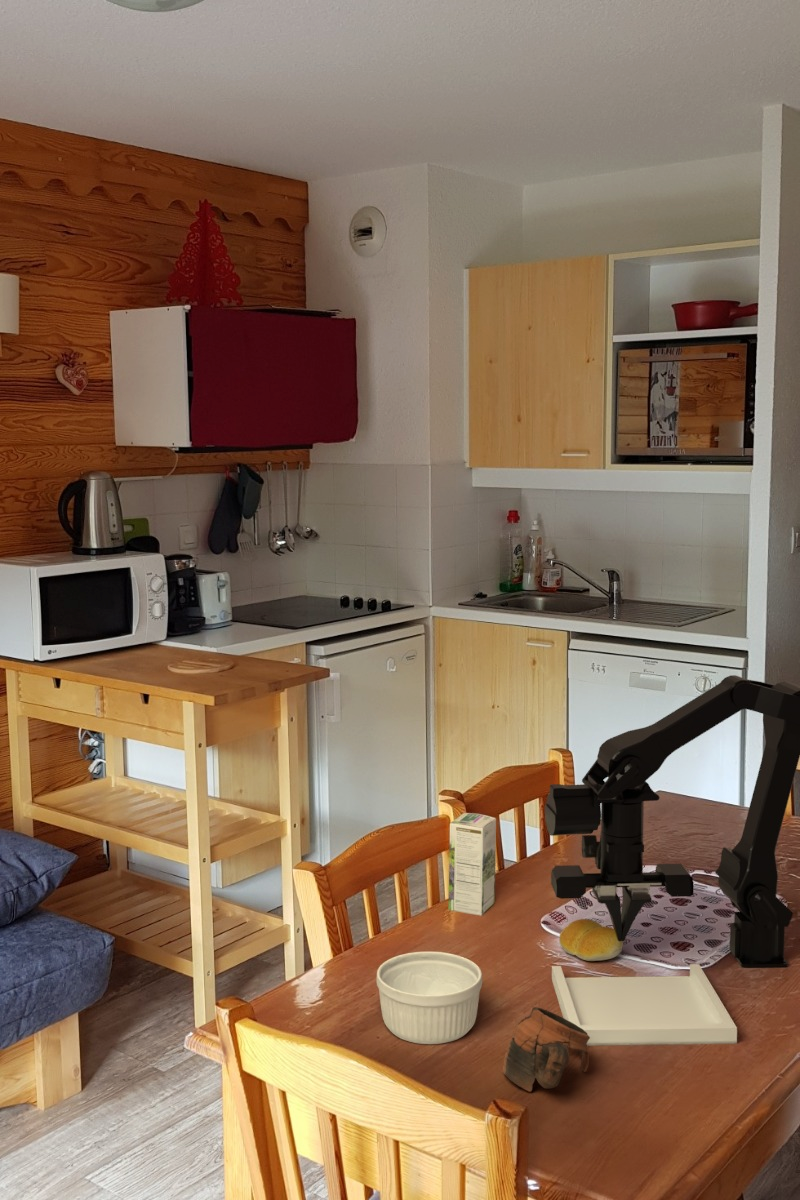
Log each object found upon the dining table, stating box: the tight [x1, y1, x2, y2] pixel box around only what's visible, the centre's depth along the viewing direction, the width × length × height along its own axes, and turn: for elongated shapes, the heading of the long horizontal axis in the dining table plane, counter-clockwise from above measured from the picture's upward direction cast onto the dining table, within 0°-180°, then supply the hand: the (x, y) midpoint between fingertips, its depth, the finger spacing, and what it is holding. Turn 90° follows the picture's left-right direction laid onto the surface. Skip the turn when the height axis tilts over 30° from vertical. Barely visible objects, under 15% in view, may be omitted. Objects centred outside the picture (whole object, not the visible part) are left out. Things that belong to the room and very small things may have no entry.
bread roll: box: [558, 918, 624, 962], centre depth 171 cm, size 8×9×4 cm
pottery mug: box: [502, 1006, 590, 1093], centre depth 137 cm, size 12×9×8 cm
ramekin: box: [376, 951, 483, 1045], centre depth 150 cm, size 13×13×7 cm
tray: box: [551, 963, 738, 1047], centre depth 154 cm, size 20×18×2 cm
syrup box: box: [448, 812, 497, 917], centre depth 188 cm, size 6×6×14 cm
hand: (620, 940), depth 166 cm, fingers closed
